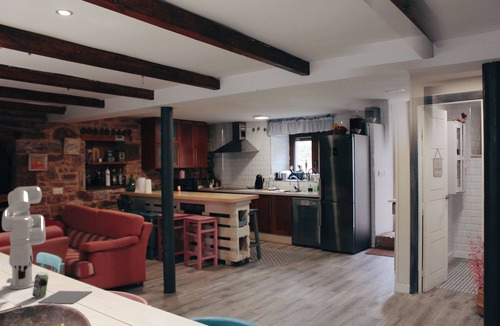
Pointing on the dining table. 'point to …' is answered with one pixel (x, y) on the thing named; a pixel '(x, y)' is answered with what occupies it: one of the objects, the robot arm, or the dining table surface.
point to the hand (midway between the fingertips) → (21, 278)
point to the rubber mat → (65, 297)
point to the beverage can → (40, 285)
